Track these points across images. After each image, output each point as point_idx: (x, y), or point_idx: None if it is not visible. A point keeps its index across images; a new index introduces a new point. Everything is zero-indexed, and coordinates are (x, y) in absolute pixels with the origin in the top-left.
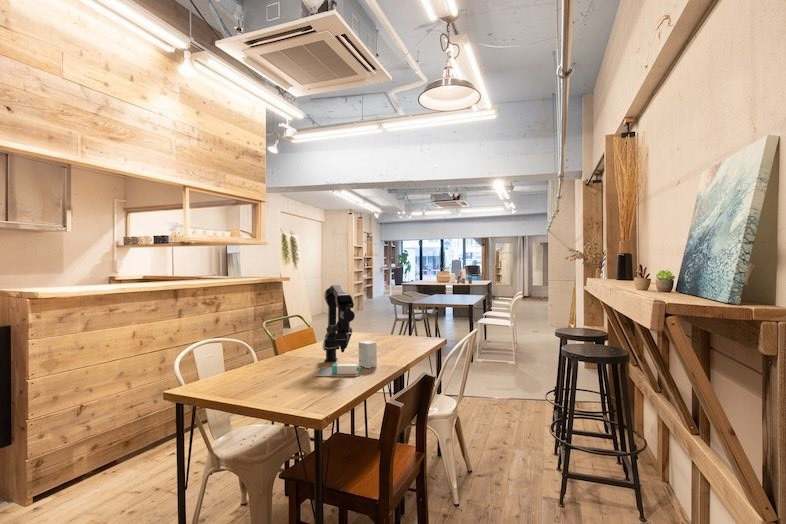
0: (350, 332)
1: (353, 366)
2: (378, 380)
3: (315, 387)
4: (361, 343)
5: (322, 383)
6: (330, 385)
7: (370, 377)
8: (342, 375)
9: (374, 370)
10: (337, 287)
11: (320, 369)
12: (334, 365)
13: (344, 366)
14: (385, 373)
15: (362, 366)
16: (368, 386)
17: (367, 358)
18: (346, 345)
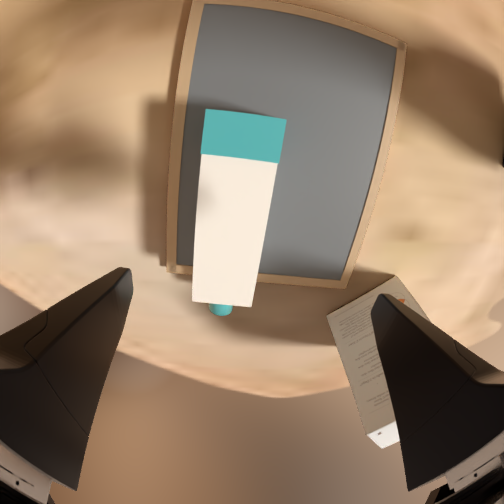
0: (433, 502)
1: (193, 281)
2: (120, 342)
3: (9, 78)
4: None
5: (53, 86)
6: (25, 140)
7: (161, 322)
8: (168, 185)
9: (289, 341)
10: None
11: (361, 36)
12: (218, 130)
13: (196, 217)
14: (227, 372)
15: (366, 296)
16: (44, 302)
17: (341, 358)
18: (380, 340)
